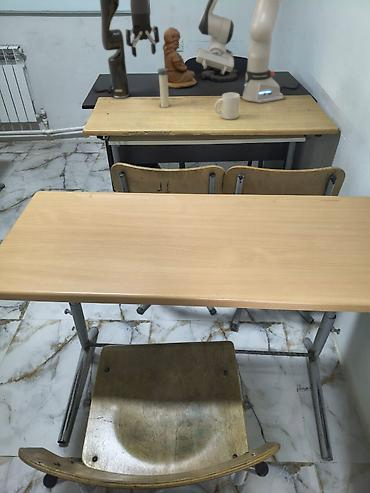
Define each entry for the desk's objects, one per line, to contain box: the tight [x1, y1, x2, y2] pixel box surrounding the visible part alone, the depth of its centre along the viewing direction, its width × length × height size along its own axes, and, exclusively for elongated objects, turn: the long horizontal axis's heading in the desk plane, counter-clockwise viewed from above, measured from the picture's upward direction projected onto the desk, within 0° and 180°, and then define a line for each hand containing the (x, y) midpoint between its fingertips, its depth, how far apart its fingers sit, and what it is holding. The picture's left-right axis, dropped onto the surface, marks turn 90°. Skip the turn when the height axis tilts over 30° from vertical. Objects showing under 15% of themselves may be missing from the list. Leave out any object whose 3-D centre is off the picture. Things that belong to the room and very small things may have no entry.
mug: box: [214, 92, 241, 120], centre depth 173 cm, size 12×8×10 cm
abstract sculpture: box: [201, 66, 239, 83], centre depth 227 cm, size 25×9×20 cm
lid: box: [157, 67, 168, 76], centre depth 181 cm, size 5×5×2 cm
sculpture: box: [157, 27, 198, 89], centre depth 214 cm, size 27×24×30 cm
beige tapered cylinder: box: [158, 74, 170, 108], centre depth 186 cm, size 4×4×18 cm
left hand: (144, 55), depth 157 cm, fingers open, 8 cm apart
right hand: (213, 70), depth 186 cm, fingers open, 8 cm apart
